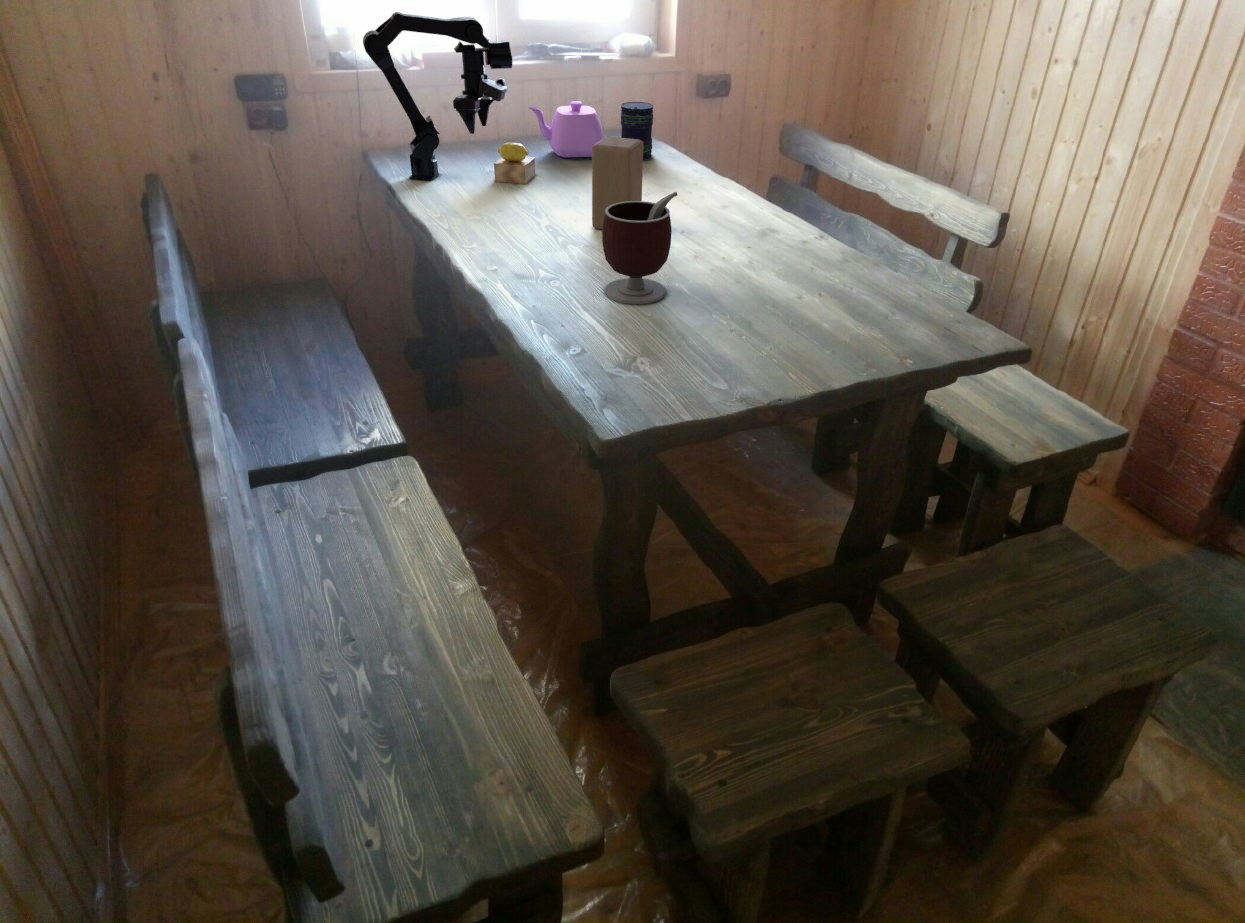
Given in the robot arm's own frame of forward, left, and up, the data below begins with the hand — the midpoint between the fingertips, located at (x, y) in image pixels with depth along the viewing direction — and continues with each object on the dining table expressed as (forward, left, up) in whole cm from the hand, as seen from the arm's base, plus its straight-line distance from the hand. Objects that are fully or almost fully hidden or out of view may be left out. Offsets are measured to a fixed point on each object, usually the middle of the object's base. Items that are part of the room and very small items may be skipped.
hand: (478, 129), depth 245 cm
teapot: (+20, +28, -12) cm, 37 cm away
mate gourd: (+62, -72, -12) cm, 96 cm away
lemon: (+11, -2, -7) cm, 13 cm away
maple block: (+11, -2, -12) cm, 16 cm away
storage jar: (+39, +30, -12) cm, 51 cm away
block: (+48, -33, -12) cm, 59 cm away
